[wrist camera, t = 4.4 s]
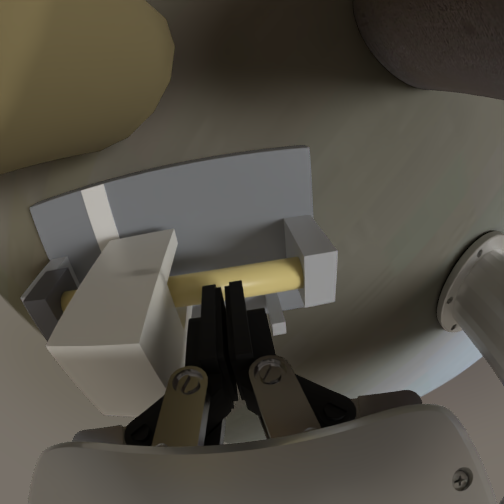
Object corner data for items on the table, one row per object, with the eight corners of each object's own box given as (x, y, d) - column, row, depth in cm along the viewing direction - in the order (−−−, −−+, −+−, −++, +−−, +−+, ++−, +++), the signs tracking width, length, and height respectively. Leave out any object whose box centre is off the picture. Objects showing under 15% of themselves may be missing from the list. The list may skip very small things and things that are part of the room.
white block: (174, 228, 15) (139, 343, 7) (193, 297, 17) (184, 417, 10) (109, 240, 15) (45, 345, 7) (135, 304, 17) (103, 415, 10)
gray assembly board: (304, 145, 15) (348, 166, 10) (310, 296, 21) (336, 357, 15) (36, 202, 15) (-16, 243, 9) (91, 325, 20) (68, 381, 15)
